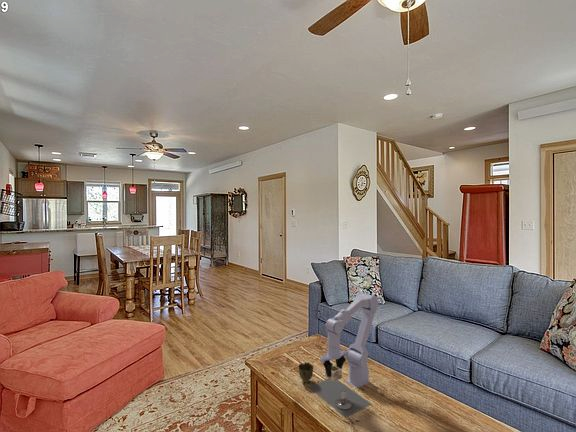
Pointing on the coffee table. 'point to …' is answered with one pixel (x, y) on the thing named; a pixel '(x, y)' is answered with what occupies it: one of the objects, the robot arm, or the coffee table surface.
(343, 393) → the post
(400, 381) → the coffee table surface
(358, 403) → the mat
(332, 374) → the collar
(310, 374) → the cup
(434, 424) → the coffee table surface
